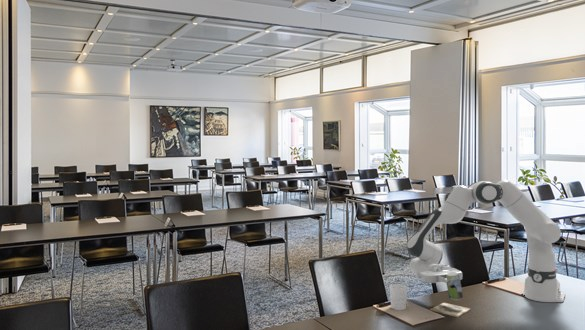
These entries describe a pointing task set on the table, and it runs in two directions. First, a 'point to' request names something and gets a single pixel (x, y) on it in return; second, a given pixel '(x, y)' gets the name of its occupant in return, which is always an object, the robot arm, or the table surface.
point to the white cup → (398, 296)
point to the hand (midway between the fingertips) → (451, 280)
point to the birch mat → (450, 309)
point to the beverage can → (454, 286)
